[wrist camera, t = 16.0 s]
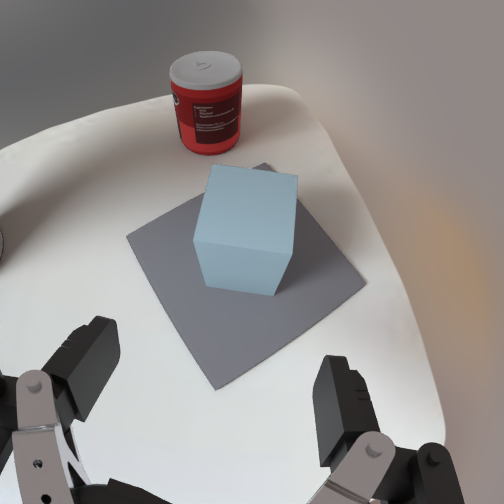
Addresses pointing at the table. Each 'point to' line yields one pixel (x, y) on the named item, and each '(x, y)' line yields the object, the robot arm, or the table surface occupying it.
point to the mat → (236, 302)
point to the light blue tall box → (246, 228)
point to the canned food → (207, 100)
